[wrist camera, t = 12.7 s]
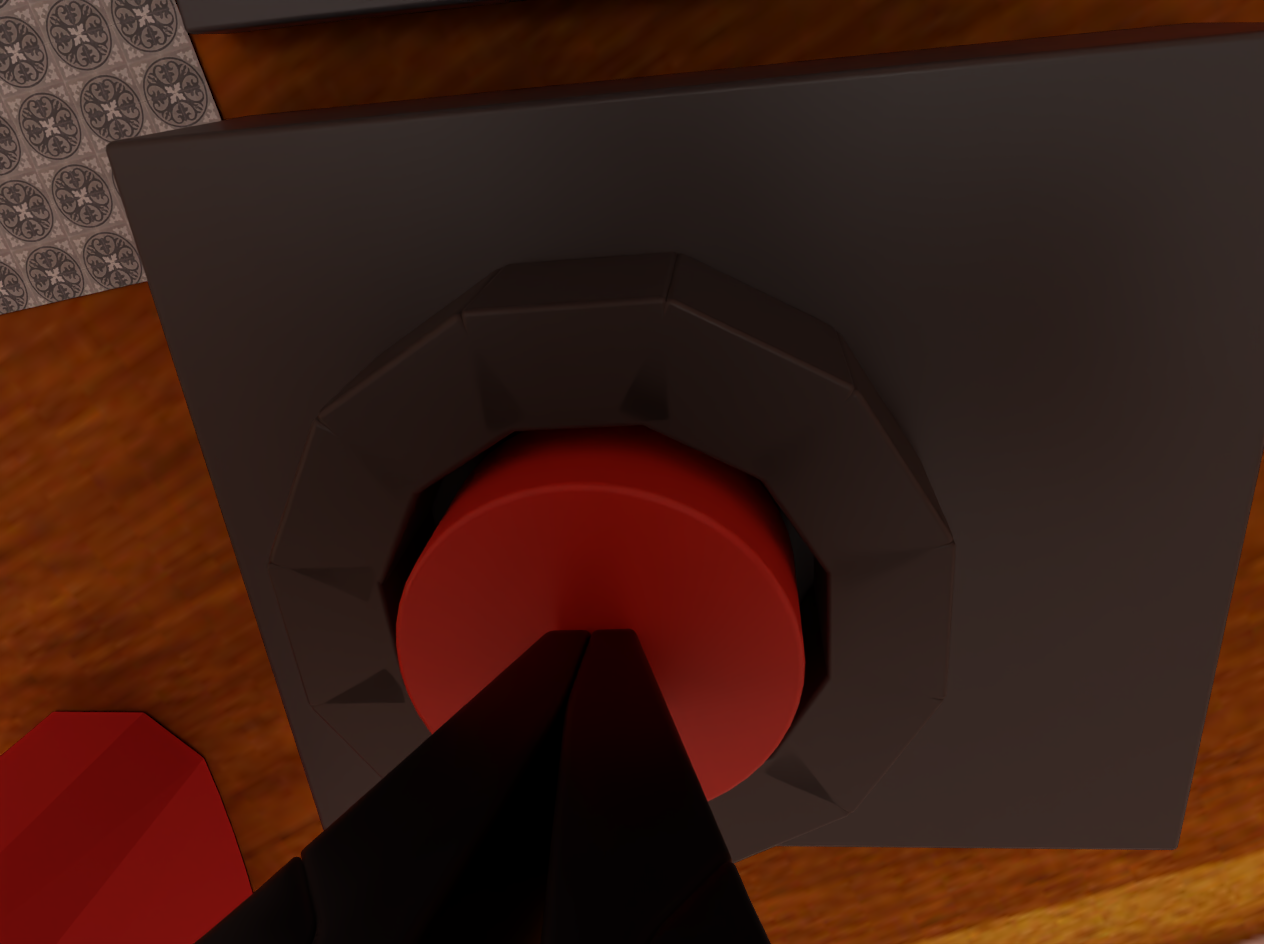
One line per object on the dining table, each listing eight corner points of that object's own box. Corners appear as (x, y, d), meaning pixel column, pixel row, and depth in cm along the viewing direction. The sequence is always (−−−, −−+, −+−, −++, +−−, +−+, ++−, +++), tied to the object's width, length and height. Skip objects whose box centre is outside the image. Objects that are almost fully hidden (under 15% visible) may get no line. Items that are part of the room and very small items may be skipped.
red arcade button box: (1196, 22, 11) (1516, 18, 6) (1095, 696, 15) (1247, 977, 11) (245, 115, 12) (-30, 165, 8) (395, 703, 17) (272, 951, 12)
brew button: (791, 400, 9) (802, 475, 8) (797, 711, 11) (808, 824, 10) (412, 419, 10) (352, 493, 8) (475, 714, 12) (434, 820, 10)
